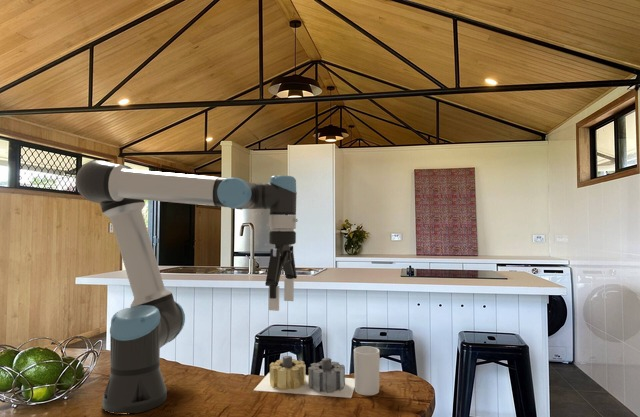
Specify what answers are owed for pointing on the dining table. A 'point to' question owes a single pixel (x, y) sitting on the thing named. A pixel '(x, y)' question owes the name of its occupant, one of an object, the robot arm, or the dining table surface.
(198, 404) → the dining table surface
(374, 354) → the mug
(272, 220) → the robot arm
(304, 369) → the gear
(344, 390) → the board
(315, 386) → the gear
